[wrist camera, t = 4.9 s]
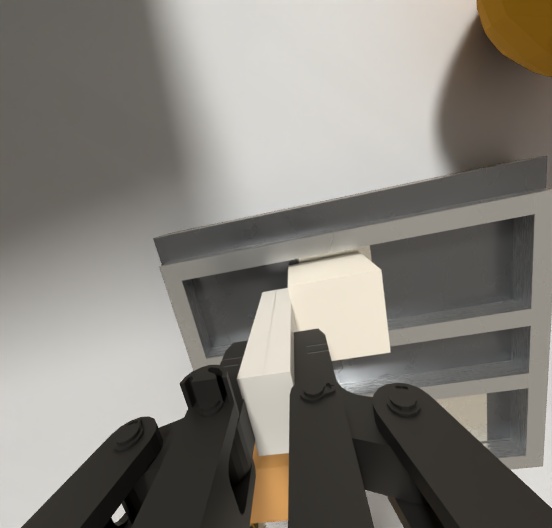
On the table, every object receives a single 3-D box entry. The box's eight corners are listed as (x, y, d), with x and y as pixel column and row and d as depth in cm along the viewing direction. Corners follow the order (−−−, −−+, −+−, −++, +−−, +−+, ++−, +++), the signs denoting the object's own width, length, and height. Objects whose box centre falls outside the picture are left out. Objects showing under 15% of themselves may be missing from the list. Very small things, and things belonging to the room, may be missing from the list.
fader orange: (252, 464, 19) (243, 523, 15) (239, 419, 18) (226, 472, 14) (307, 458, 18) (311, 518, 15) (296, 412, 17) (298, 464, 14)
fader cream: (301, 328, 16) (303, 365, 12) (288, 265, 15) (287, 286, 11) (368, 317, 15) (390, 352, 12) (359, 252, 14) (381, 269, 11)
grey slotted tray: (241, 466, 22) (233, 511, 19) (169, 233, 17) (141, 242, 14) (509, 437, 20) (550, 483, 16) (513, 161, 15) (572, 151, 12)
